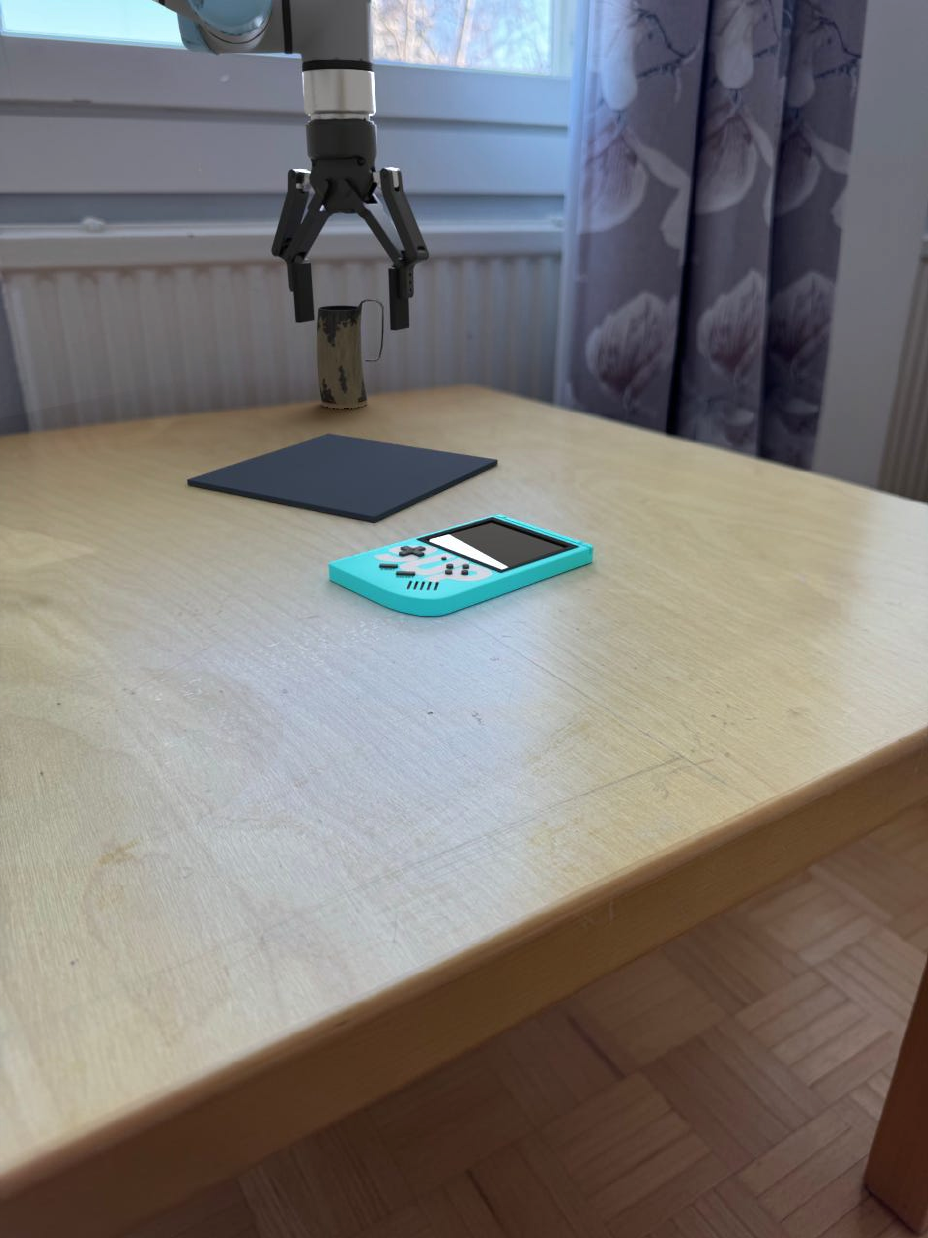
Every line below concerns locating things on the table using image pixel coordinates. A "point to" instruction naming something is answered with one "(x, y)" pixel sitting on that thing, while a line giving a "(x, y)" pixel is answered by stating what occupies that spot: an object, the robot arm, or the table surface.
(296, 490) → the mat
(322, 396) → the mug
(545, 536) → the handheld game console
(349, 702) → the table surface
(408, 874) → the table surface
